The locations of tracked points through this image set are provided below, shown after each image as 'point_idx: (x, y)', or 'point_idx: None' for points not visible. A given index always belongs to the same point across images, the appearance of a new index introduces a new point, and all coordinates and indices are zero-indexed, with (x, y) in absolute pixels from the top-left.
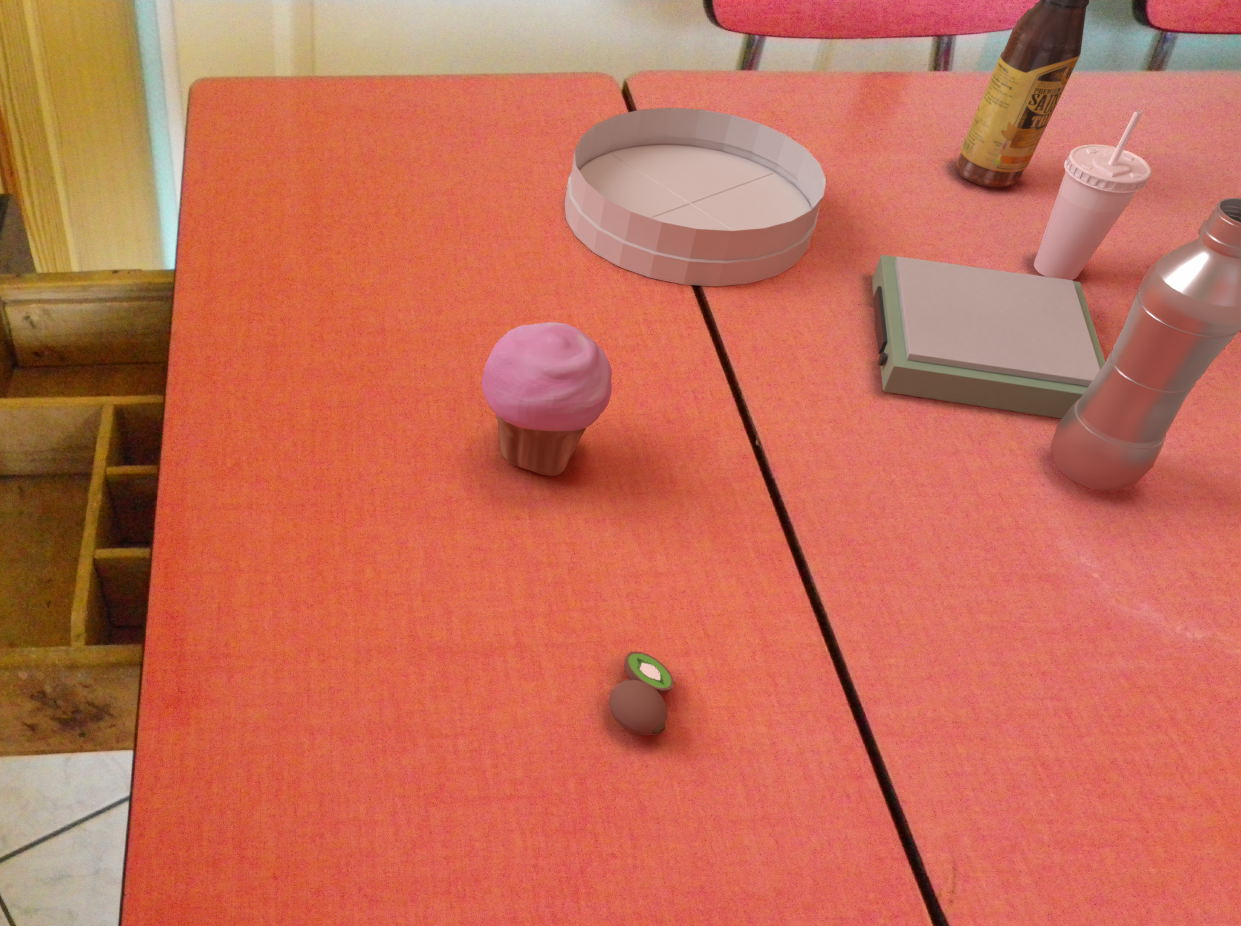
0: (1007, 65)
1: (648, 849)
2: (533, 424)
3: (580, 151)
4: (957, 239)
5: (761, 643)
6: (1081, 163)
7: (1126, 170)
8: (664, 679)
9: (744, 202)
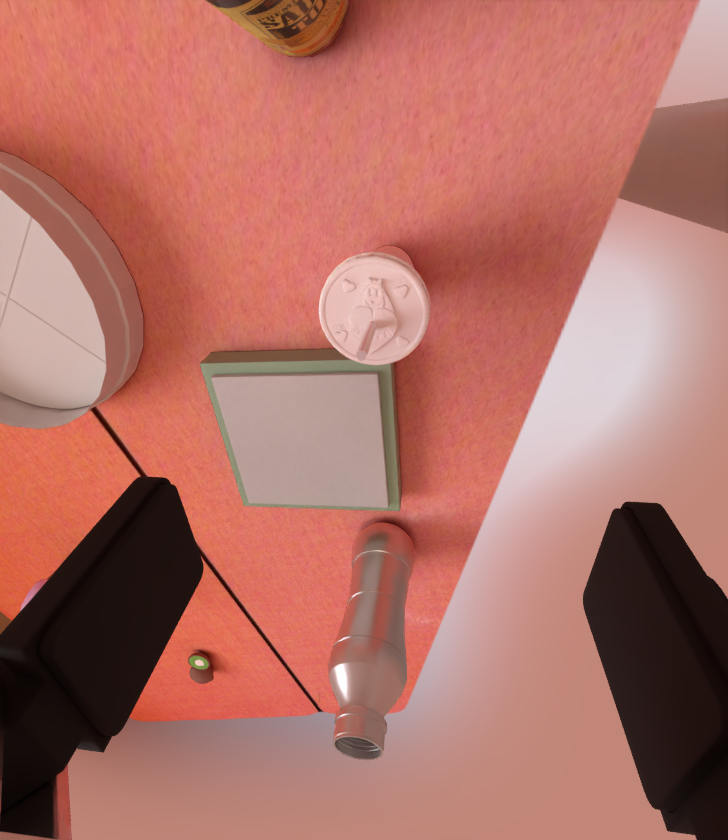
0: None
1: (227, 693)
2: None
3: None
4: (279, 237)
5: (237, 638)
6: (334, 326)
7: (389, 339)
8: (205, 663)
9: (49, 277)
